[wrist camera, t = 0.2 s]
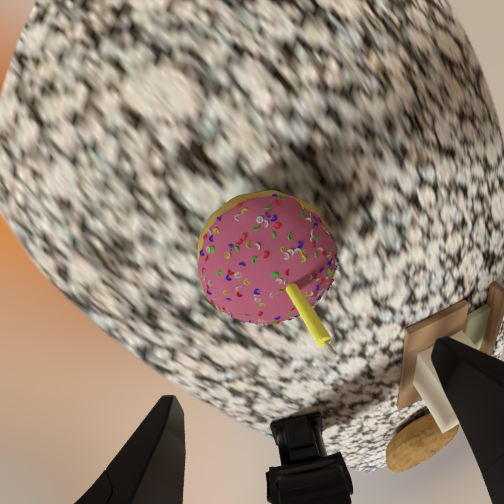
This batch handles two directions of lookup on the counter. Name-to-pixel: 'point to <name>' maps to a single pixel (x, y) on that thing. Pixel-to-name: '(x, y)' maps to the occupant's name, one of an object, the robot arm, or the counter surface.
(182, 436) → the robot arm
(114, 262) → the counter surface
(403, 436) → the potato
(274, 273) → the cupcake
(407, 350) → the lane board
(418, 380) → the block
